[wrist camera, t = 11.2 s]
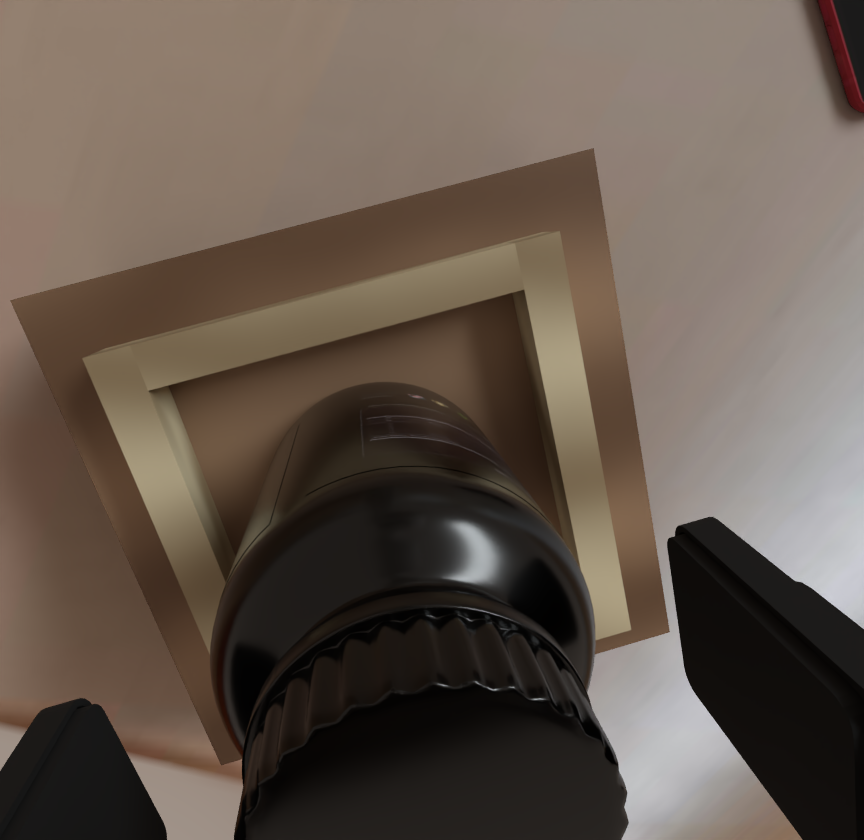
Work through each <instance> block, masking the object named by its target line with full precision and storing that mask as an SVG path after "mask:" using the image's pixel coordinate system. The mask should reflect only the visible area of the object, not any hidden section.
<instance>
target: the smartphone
mask: <svg viewBox="0 0 864 840" xmlns="http://www.w3.org/2000/svg"><path fill="white" fill-rule="evenodd" d="M817 1H818V4H819V7H820V10H821V14H822V17H823V20H824V24H825V27H826V30H827V33H828V37H829V40H830V43H831V47H832V50H833V53H834V56H835V60H836V63H837V66H838V70H839V73H840V76H841V79H842V83H843V86H844V89H845V93H846V96H847V99H848V101H849V103H850V105H851V106H852V107H853V108H854V109H856V110H858V111H860V112H862V113H864V0H817Z"/></svg>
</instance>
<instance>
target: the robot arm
mask: <svg viewBox="0 0 864 840" xmlns="http://www.w3.org/2000/svg"><path fill="white" fill-rule="evenodd" d="M667 548H668V555H669V562H670V569H671V576H672V583H673V590H674V597H675V604H676V611H677V619H678V626H679V633H680V640H681V647H682V654H683V661H684V668H685V672H686V676H687V678H688V681H689V683H690V685H691V687H692V689H693V691H694V692H695V694H696V695H697V697H698V698H699V699H700V701H701V702H702V703H703V705H704V706H705V707H706V709H707V710H708V711H709V713H710V714H711V716H712V717H713V718H714V720H715V721H716V722H717V724H718V725H719V726H720V728H721V729H722V731H723V732H724V733H725V735H726V736H727V737H728V739H729V740H730V741H731V743H732V744H733V745H734V747H735V748H736V750H737V751H738V752H739V754H740V755H741V756H742V758H743V759H744V760H745V762H746V763H747V764H748V766H749V767H750V769H751V770H752V771H753V773H754V774H755V775H756V777H757V778H758V779H759V781H760V782H761V784H762V785H763V786H764V788H765V789H766V790H767V792H768V793H769V794H770V796H771V797H772V798H773V800H774V801H775V803H776V804H777V805H778V807H779V808H780V809H781V811H782V812H783V813H784V815H785V816H786V817H787V819H788V820H789V822H790V823H791V824H792V826H793V827H794V828H795V830H796V831H797V832H798V834H799V835H800V837H801V838H802V839H803V840H864V629H863V628H861V627H860V626H859V625H858V624H856V623H855V622H854V621H852V620H851V619H850V618H849V617H847V616H846V615H845V614H843V613H842V612H841V611H840V610H838V609H837V608H836V607H835V606H833V605H832V604H831V603H829V602H828V601H827V600H826V599H824V598H823V597H822V596H821V595H819V594H818V593H817V592H815V591H814V590H813V589H812V588H810V587H808V586H807V585H805V584H803V583H802V582H796V581H794V580H793V579H791V578H790V577H789V576H788V575H786V574H785V573H784V572H783V571H781V570H780V569H779V568H778V567H776V566H775V565H774V564H773V563H771V562H770V561H769V560H768V559H766V558H765V557H764V556H763V555H761V554H760V553H759V552H758V551H756V550H755V549H754V548H753V547H751V546H750V545H749V544H747V543H746V542H745V541H744V540H742V539H741V538H740V537H739V536H737V535H736V534H735V533H734V532H732V531H731V530H730V529H729V528H727V527H726V526H725V525H724V524H722V523H721V522H720V521H719V520H717V519H716V518H714V517H707V518H704V519H700V520H697V521H694V522H690V523H687V524H683V525H680V526H678V527H677V528H676V531H675V537H671V538H669V539H668V542H667ZM0 840H167V833H166V828H165V825H164V823H163V821H162V819H161V817H160V815H159V813H158V811H157V810H156V808H155V806H154V804H153V802H152V800H151V798H150V796H149V794H148V792H147V791H146V789H145V787H144V785H143V783H142V781H141V779H140V777H139V776H138V774H137V772H136V770H135V768H134V766H133V764H132V762H131V760H130V759H129V757H128V755H127V753H126V751H125V749H124V747H123V745H122V743H121V742H120V740H119V738H118V736H117V734H116V732H115V730H114V728H113V726H112V725H111V723H110V721H109V719H108V717H107V715H106V713H105V711H104V710H103V708H102V707H101V706H99V705H98V704H93V705H92V704H91V703H90V702H89V701H88V700H86V699H83V698H79V699H76V700H72V701H69V702H65V703H62V704H59V705H55V706H52V707H48V708H45V709H43V710H41V711H40V712H39V713H38V715H37V716H36V717H35V719H34V720H33V722H32V723H31V725H30V726H29V728H28V729H27V731H26V732H25V734H24V735H23V737H22V739H21V740H20V742H19V743H18V745H17V746H16V748H15V749H14V751H13V752H12V754H11V755H10V757H9V758H8V760H7V762H6V763H5V765H4V766H3V768H2V769H1V771H0Z"/></svg>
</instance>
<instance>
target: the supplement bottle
mask: <svg viewBox="0 0 864 840" xmlns="http://www.w3.org/2000/svg"><path fill="white" fill-rule="evenodd" d="M595 646H596V639H595V619H594V611H593V606H592V602H591V598H590V593H589V590H588V587H587V584H586V581H585V579H584V576H583V574H582V571H581V569H580V567H579V565H578V563H577V561H576V560H575V558H574V556H573V554H572V553H571V551H570V550H569V548H568V546H567V545H566V543H565V542H564V540H563V539H562V537H561V535H560V534H559V533H558V531H557V530H556V528H555V527H554V526H553V524H552V523H551V522H550V520H549V519H548V518H547V516H546V515H545V514H544V512H543V511H542V510H541V509H540V507H539V506H538V505H537V503H536V502H535V501H534V499H533V498H532V497H531V495H530V494H529V493H528V491H527V490H526V489H525V487H524V486H523V485H522V483H521V482H520V481H519V479H518V478H517V477H516V475H515V474H514V473H513V471H512V470H511V469H510V467H509V466H508V465H507V463H506V462H505V461H504V460H503V458H502V457H501V456H500V454H499V453H498V452H497V450H496V449H495V448H494V446H493V445H492V444H491V442H490V441H489V440H488V438H487V437H486V436H485V434H484V433H483V432H482V431H481V430H480V428H479V427H478V426H477V425H476V424H475V423H474V421H473V420H472V419H471V418H470V417H469V416H468V415H467V414H466V413H465V412H464V411H463V410H461V409H460V408H459V407H458V406H456V405H455V404H454V403H452V402H451V401H449V400H448V399H446V398H445V397H443V396H441V395H439V394H437V393H435V392H433V391H430V390H428V389H425V388H422V387H419V386H415V385H411V384H406V383H399V382H373V383H365V384H360V385H355V386H352V387H349V388H346V389H343V390H340V391H338V392H336V393H333V394H331V395H329V396H327V397H326V398H324V399H322V400H321V401H319V402H318V403H316V404H315V405H313V406H312V407H311V408H309V409H308V410H307V411H306V412H305V413H303V414H302V415H301V416H300V417H299V418H298V420H297V421H296V422H295V423H294V424H293V425H292V427H291V428H290V429H289V430H288V432H287V433H286V435H285V436H284V438H283V439H282V441H281V442H280V444H279V446H278V448H277V450H276V452H275V455H274V457H273V459H272V461H271V464H270V466H269V469H268V472H267V474H266V477H265V480H264V482H263V485H262V488H261V490H260V493H259V496H258V498H257V501H256V504H255V506H254V509H253V512H252V514H251V517H250V520H249V522H248V525H247V528H246V531H245V533H244V536H243V539H242V541H241V544H240V547H239V549H238V552H237V555H236V557H235V560H234V563H233V565H232V568H231V571H230V574H229V576H228V579H227V582H226V584H225V587H224V590H223V593H222V595H221V598H220V602H219V606H218V610H217V614H216V618H215V621H214V626H213V631H212V638H211V645H210V672H211V683H212V689H213V694H214V698H215V702H216V706H217V709H218V712H219V715H220V717H221V720H222V723H223V725H224V727H225V729H226V731H227V733H228V735H229V738H230V740H231V741H232V743H233V745H234V746H235V748H236V749H237V751H238V753H239V754H240V756H241V757H242V779H243V791H242V796H241V802H240V806H239V811H238V816H237V822H236V827H235V833H234V840H621V838H622V836H623V835H624V833H625V831H626V828H627V826H628V823H629V822H628V818H627V814H626V811H625V809H624V805H625V802H626V797H627V790H626V787H625V783H624V781H623V778H622V776H621V774H620V772H619V768H618V761H617V758H616V755H615V752H614V750H613V748H612V746H611V744H610V742H609V740H608V738H607V736H606V734H605V733H604V731H603V729H602V727H601V725H600V723H599V721H598V719H597V718H596V716H595V714H594V712H593V710H592V707H591V703H590V700H589V697H588V694H587V691H588V688H589V685H590V681H591V676H592V671H593V666H594V657H595Z"/></svg>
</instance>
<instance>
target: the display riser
mask: <svg viewBox="0 0 864 840" xmlns="http://www.w3.org/2000/svg"><path fill="white" fill-rule="evenodd" d="M10 301H11V303H12V305H13V308H14V310H15V312H16V314H17V316H18V319H19V321H20V323H21V325H22V327H23V330H24V332H25V334H26V336H27V338H28V341H29V343H30V345H31V347H32V349H33V352H34V354H35V356H36V358H37V360H38V363H39V365H40V367H41V369H42V371H43V374H44V376H45V378H46V380H47V382H48V385H49V387H50V389H51V391H52V393H53V396H54V398H55V400H56V402H57V404H58V407H59V409H60V411H61V413H62V415H63V418H64V420H65V422H66V424H67V427H68V429H69V431H70V433H71V435H72V438H73V440H74V442H75V444H76V446H77V449H78V451H79V453H80V455H81V457H82V460H83V462H84V464H85V466H86V468H87V471H88V473H89V475H90V477H91V479H92V482H93V484H94V486H95V488H96V490H97V493H98V495H99V497H100V499H101V501H102V504H103V506H104V508H105V510H106V512H107V515H108V517H109V519H110V521H111V523H112V526H113V528H114V530H115V532H116V534H117V537H118V539H119V541H120V543H121V546H122V548H123V550H124V552H125V554H126V557H127V559H128V561H129V563H130V565H131V568H132V570H133V572H134V574H135V576H136V579H137V581H138V583H139V585H140V587H141V590H142V592H143V594H144V596H145V598H146V601H147V603H148V605H149V607H150V609H151V612H152V614H153V616H154V618H155V620H156V623H157V625H158V627H159V629H160V631H161V634H162V636H163V638H164V640H165V642H166V645H167V647H168V649H169V651H170V653H171V656H172V658H173V660H174V662H175V665H176V667H177V669H178V671H179V673H180V676H181V678H182V680H183V682H184V684H185V687H186V689H187V691H188V693H189V695H190V698H191V700H192V702H193V704H194V706H195V709H196V711H197V713H198V715H199V717H200V720H201V722H202V724H203V726H204V728H205V731H206V733H207V735H208V737H209V739H210V742H211V744H212V746H213V748H214V750H215V753H216V755H217V757H218V759H219V761H220V764H221V765H224V764H227V763H230V762H234V761H237V760H240V759H242V757H241V756H240V754H239V753H238V751H237V749H236V748H235V746H234V745H233V743H232V741H231V740H230V738H229V735H228V733H227V731H226V729H225V727H224V725H223V723H222V720H221V717H220V715H219V712H218V709H217V706H216V702H215V698H214V694H213V689H212V683H211V672H210V645H211V638H212V631H213V626H214V621H215V618H216V614H217V610H218V606H219V602H220V598H221V595H222V593H223V590H224V587H225V584H226V582H227V579H228V576H229V574H230V571H231V568H232V565H233V563H234V560H235V557H236V555H237V552H238V549H239V547H240V544H241V541H242V539H243V536H244V533H245V531H246V528H247V525H248V522H249V520H250V517H251V514H252V512H253V509H254V506H255V504H256V501H257V498H258V496H259V493H260V490H261V488H262V485H263V482H264V480H265V477H266V474H267V472H268V469H269V466H270V464H271V461H272V459H273V457H274V455H275V452H276V450H277V448H278V446H279V444H280V442H281V441H282V439H283V438H284V436H285V435H286V433H287V432H288V430H289V429H290V428H291V427H292V425H293V424H294V423H295V422H296V421H297V420H298V418H299V417H300V416H301V415H302V414H303V413H305V412H306V411H307V410H308V409H309V408H311V407H312V406H313V405H315V404H316V403H318V402H319V401H321V400H322V399H324V398H326V397H327V396H329V395H331V394H333V393H336V392H338V391H340V390H343V389H346V388H349V387H352V386H355V385H360V384H365V383H373V382H399V383H406V384H411V385H415V386H419V387H422V388H425V389H428V390H430V391H433V392H435V393H437V394H439V395H441V396H443V397H445V398H446V399H448V400H449V401H451V402H452V403H454V404H455V405H456V406H458V407H459V408H460V409H461V410H463V411H464V412H465V413H466V414H467V415H468V416H469V417H470V418H471V419H472V420H473V421H474V423H475V424H476V425H477V426H478V427H479V428H480V430H481V431H482V432H483V433H484V434H485V436H486V437H487V438H488V440H489V441H490V442H491V444H492V445H493V446H494V448H495V449H496V450H497V452H498V453H499V454H500V456H501V457H502V458H503V460H504V461H505V462H506V463H507V465H508V466H509V467H510V469H511V470H512V471H513V473H514V474H515V475H516V477H517V478H518V479H519V481H520V482H521V483H522V485H523V486H524V487H525V489H526V490H527V491H528V493H529V494H530V495H531V497H532V498H533V499H534V501H535V502H536V503H537V505H538V506H539V507H540V509H541V510H542V511H543V512H544V514H545V515H546V516H547V518H548V519H549V520H550V522H551V523H552V524H553V526H554V527H555V528H556V530H557V531H558V533H559V534H560V535H561V537H562V539H563V540H564V542H565V543H566V545H567V546H568V548H569V550H570V551H571V553H572V554H573V556H574V558H575V560H576V561H577V563H578V565H579V567H580V569H581V571H582V574H583V576H584V579H585V581H586V584H587V587H588V590H589V593H590V598H591V602H592V606H593V611H594V619H595V639H596V646H595V654H597V653H601V652H604V651H608V650H611V649H614V648H618V647H621V646H624V645H628V644H631V643H634V642H638V641H641V640H645V639H648V638H651V637H655V636H658V635H661V634H665V633H668V632H670V631H669V625H668V619H667V612H666V606H665V600H664V593H663V587H662V581H661V574H660V568H659V561H658V555H657V549H656V542H655V536H654V530H653V523H652V517H651V511H650V504H649V498H648V492H647V485H646V479H645V472H644V466H643V460H642V453H641V447H640V441H639V434H638V428H637V422H636V415H635V409H634V402H633V396H632V390H631V383H630V377H629V371H628V364H627V358H626V352H625V345H624V339H623V332H622V326H621V320H620V313H619V307H618V301H617V294H616V288H615V282H614V275H613V269H612V263H611V256H610V250H609V243H608V237H607V231H606V224H605V218H604V212H603V205H602V199H601V193H600V186H599V180H598V173H597V167H596V161H595V154H594V148H593V149H589V150H585V151H581V152H577V153H573V154H570V155H566V156H562V157H558V158H554V159H550V160H547V161H543V162H539V163H535V164H531V165H527V166H524V167H520V168H516V169H512V170H508V171H504V172H501V173H497V174H493V175H489V176H485V177H481V178H478V179H474V180H470V181H466V182H462V183H458V184H455V185H451V186H447V187H443V188H439V189H435V190H432V191H428V192H424V193H420V194H416V195H412V196H409V197H405V198H401V199H397V200H393V201H389V202H386V203H382V204H378V205H374V206H370V207H366V208H363V209H359V210H355V211H351V212H347V213H343V214H340V215H336V216H332V217H328V218H324V219H320V220H317V221H313V222H309V223H305V224H301V225H297V226H294V227H290V228H286V229H282V230H278V231H274V232H271V233H267V234H263V235H259V236H255V237H251V238H248V239H244V240H240V241H236V242H232V243H228V244H225V245H221V246H217V247H213V248H209V249H205V250H202V251H198V252H194V253H190V254H186V255H182V256H179V257H175V258H171V259H167V260H163V261H159V262H156V263H152V264H148V265H144V266H140V267H136V268H133V269H129V270H125V271H121V272H117V273H113V274H110V275H106V276H102V277H98V278H94V279H90V280H87V281H83V282H79V283H75V284H71V285H67V286H63V287H60V288H56V289H52V290H48V291H44V292H40V293H37V294H33V295H29V296H25V297H21V298H17V299H14V300H10Z"/></svg>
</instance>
